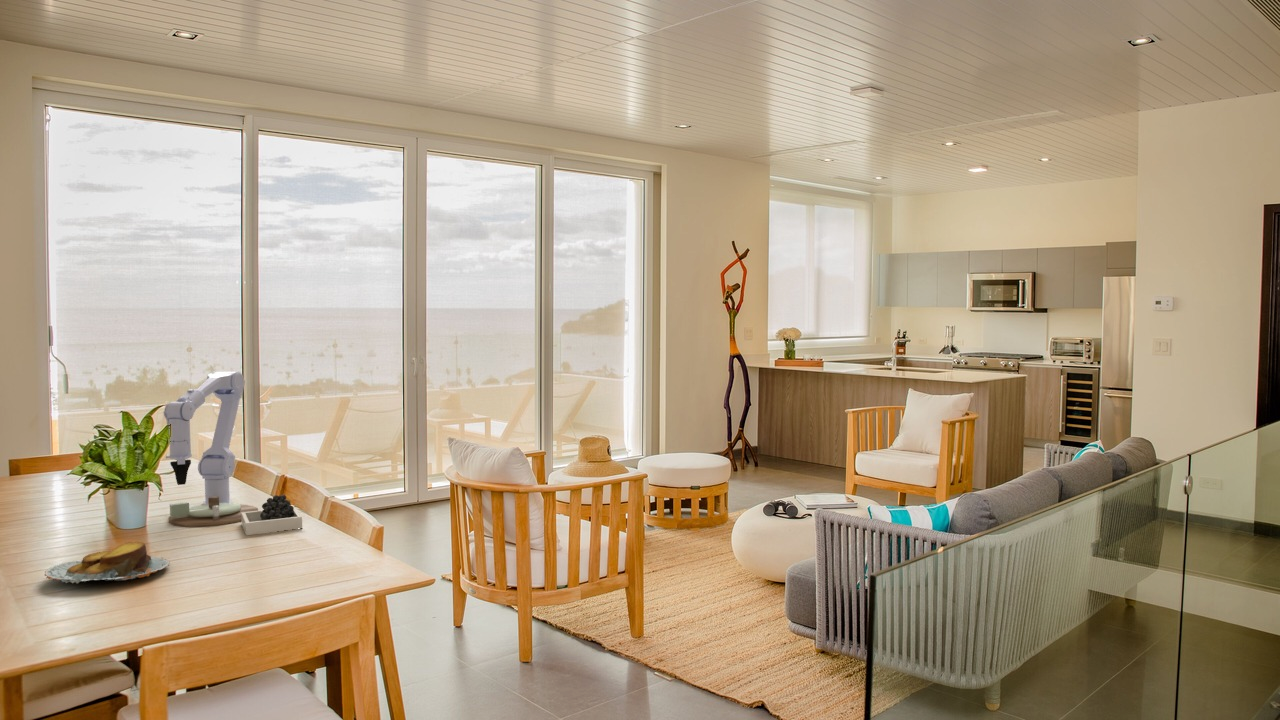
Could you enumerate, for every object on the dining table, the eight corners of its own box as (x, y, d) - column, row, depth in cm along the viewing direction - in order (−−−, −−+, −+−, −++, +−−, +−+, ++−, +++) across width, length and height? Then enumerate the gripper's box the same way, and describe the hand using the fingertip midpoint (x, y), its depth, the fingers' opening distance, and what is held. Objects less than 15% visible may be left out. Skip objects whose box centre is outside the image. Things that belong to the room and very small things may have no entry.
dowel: (212, 522, 263) (212, 505, 263) (219, 522, 264) (218, 505, 264) (213, 524, 262) (212, 507, 262) (219, 523, 263) (219, 506, 262)
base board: (167, 513, 276) (167, 494, 276) (254, 504, 288) (253, 486, 288) (169, 530, 254) (168, 510, 254) (262, 520, 267) (261, 500, 266)
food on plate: (41, 574, 214) (40, 547, 214) (158, 555, 230) (157, 530, 230) (51, 601, 194) (49, 571, 193) (179, 579, 210) (178, 551, 209)
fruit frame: (241, 524, 262) (241, 512, 262) (295, 518, 269) (294, 506, 269) (246, 535, 249) (245, 523, 249) (302, 528, 256) (301, 516, 256)
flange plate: (233, 503, 282) (233, 491, 282) (246, 511, 270) (246, 499, 270) (165, 512, 270) (165, 500, 269) (176, 521, 258) (176, 509, 258)
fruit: (269, 501, 251) (290, 488, 266) (242, 510, 252) (265, 497, 267) (280, 529, 252) (301, 515, 267) (253, 538, 252) (276, 523, 267)
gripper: (164, 438, 274) (166, 481, 275) (165, 444, 261) (167, 489, 262) (190, 436, 277) (191, 479, 278) (192, 442, 264) (193, 487, 265)
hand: (181, 484), depth 270 cm, fingers closed
